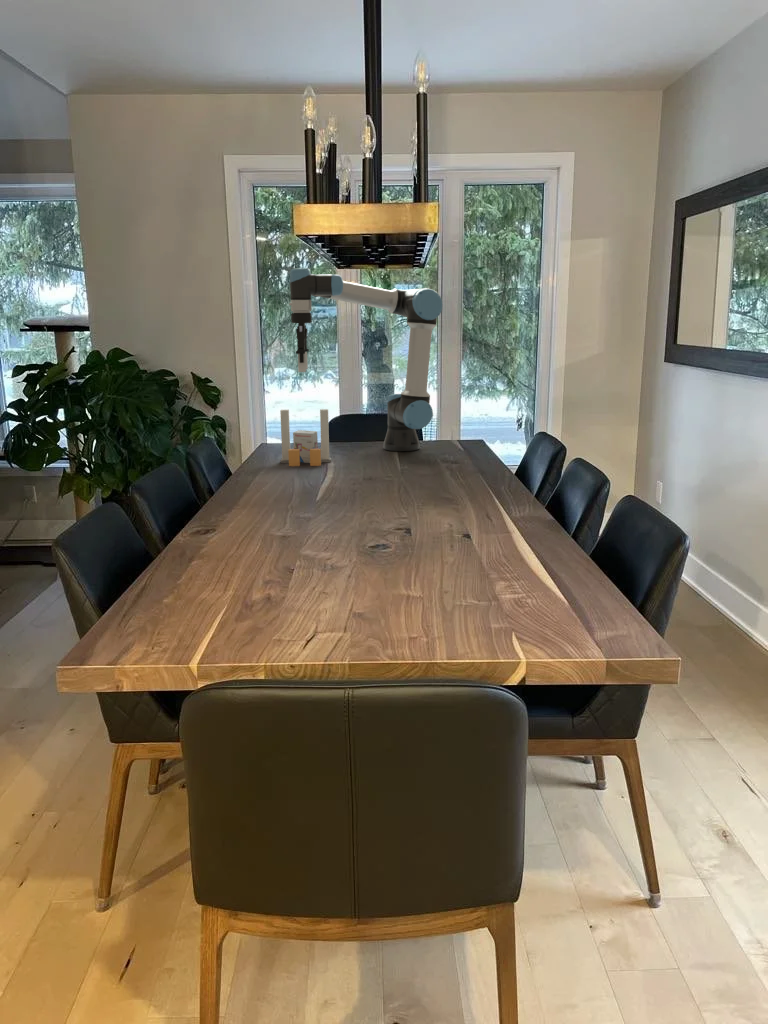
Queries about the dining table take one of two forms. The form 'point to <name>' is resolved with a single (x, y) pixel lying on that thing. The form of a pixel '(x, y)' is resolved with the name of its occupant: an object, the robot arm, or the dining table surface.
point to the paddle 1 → (294, 457)
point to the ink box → (305, 443)
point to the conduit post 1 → (285, 435)
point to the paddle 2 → (315, 457)
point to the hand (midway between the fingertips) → (303, 370)
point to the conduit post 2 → (324, 435)
